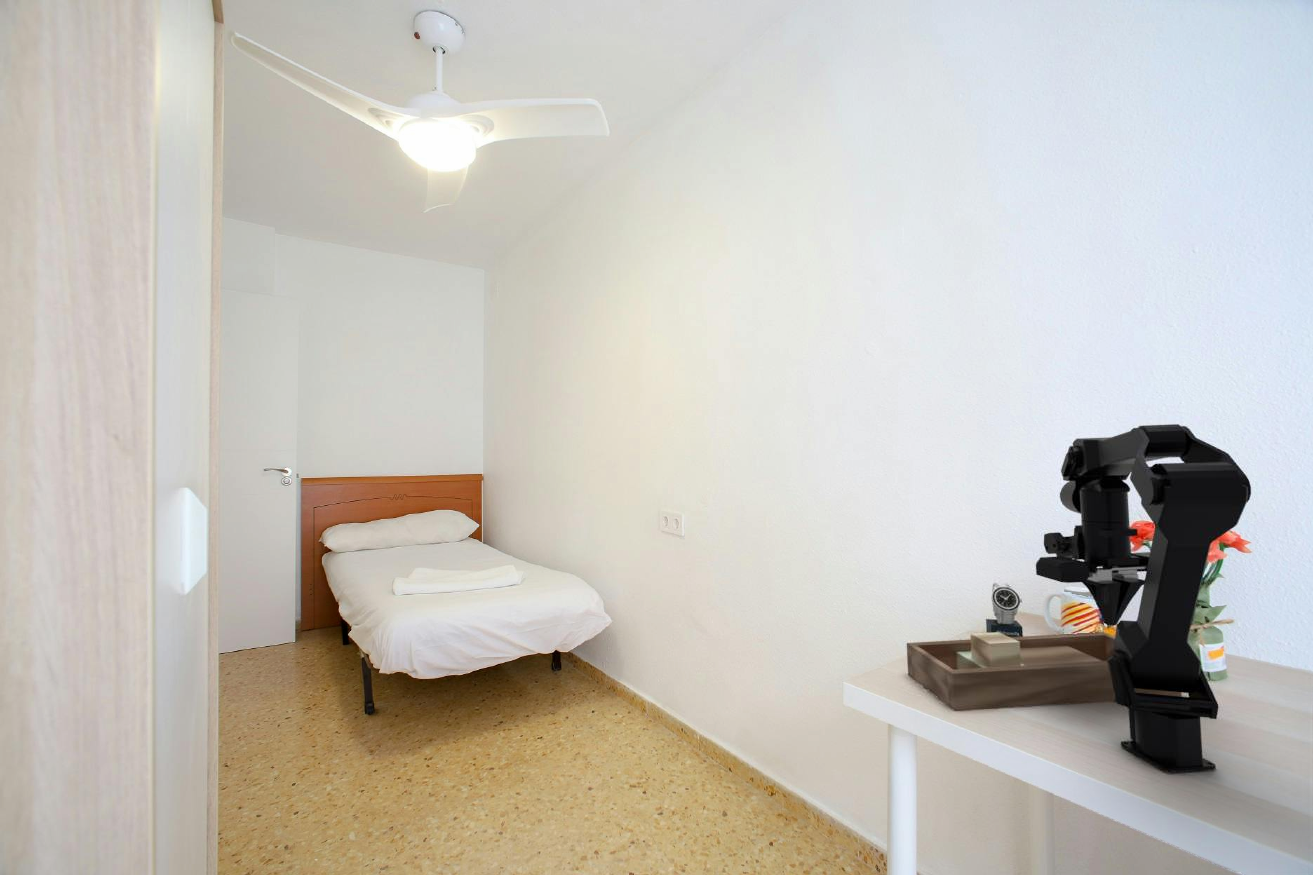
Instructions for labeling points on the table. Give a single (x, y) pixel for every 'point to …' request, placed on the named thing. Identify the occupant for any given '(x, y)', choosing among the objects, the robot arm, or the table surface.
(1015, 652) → the maple block
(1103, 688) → the tray
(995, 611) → the watch
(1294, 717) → the table surface
